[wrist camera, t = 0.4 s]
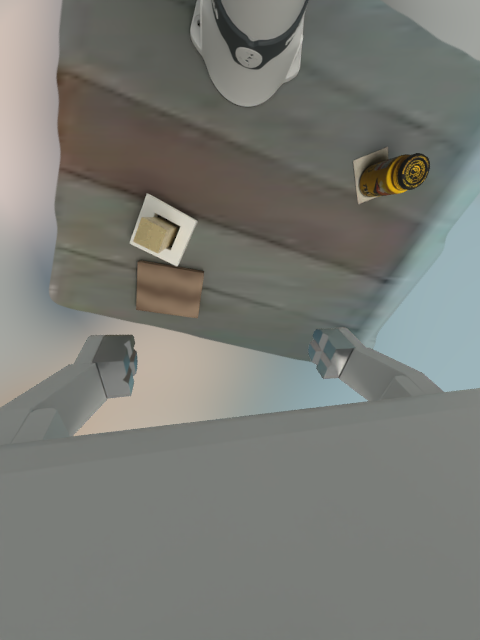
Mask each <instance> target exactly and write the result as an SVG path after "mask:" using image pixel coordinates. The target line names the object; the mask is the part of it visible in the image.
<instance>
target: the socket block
mask: <svg viewBox="0 0 480 640" xmlns="http://www.w3.org/2000/svg"><path fill="white" fill-rule="evenodd" d="M158 215H160V216H162V217H164V218H166V219H168V220H169V221H171V222H173V223H175V224H177V225H179V226H181V227H180V229H179V232H178V234H177V236H176V239H175V241H174V244H173V246H172V248H171V247H167V248H166V249H164V250H163V251H161V252H160V253H158V254H157V253H155V252H153V251H151V250H149V249H147V248H145V247H143V246H141V245H139V244H137V243H135V242H133V240H134V237H135V234H136V232H137V229H138V226H139V223H140V220H141V217H157V216H158ZM197 222H198V221H197V220H195V219H194V218H192V217H190V216H188V215H186V214H185V213H183V212H181V211H179V210H177V209H176V208H174V207H172V206H170V205H168V204H167V203H165V202H163V201H161V200H159V199H158V198H156V197H154V196H152V195H150V194H147V195H146V197H145V200H144V203H143V206H142V209H141V212H140V215H139V217H138V220H137V223H136V226H135V229H134V232H133V235H132V237H131V240H130V244H132V245H134V246H136V247H138V248H140V249H142V250H144V251H146V252H148V253H150V254H152V255H154V256H156V257H159V258H161V259H163V260H165V261H167V262H169V263H171V264H173V265H175V266H178V265H179V263H180V261H181V259H182V256H183V254H184V252H185V249H186V247H187V245H188V243H189V240H190V238H191V236H192V233H193V231H194V229H195V226H196V224H197Z"/></svg>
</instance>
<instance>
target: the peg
mask: <svg viewBox="0 0 480 640" xmlns="http://www.w3.org/2000/svg"><path fill="white" fill-rule="evenodd" d="M178 228H179V227H178V226H176V225H174V224H172V223H170V222H168V221H166V220H164V219H163V218H161V217H141V220H140V223H139V226H138V229H137V232H136V234H135V237H134V240H133V242H135V243H137V244H139V245H141V246H143V247H145V248H147V249H149V250H151V251H153V252H155V253H157V254H158V253H160V252H161V251H163V250H164V249H166V248H167V247H169V246H170V245H172V243H173V240H174V238H175V235H176V233H177V231H178Z"/></svg>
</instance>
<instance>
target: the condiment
mask: <svg viewBox="0 0 480 640" xmlns="http://www.w3.org/2000/svg"><path fill="white" fill-rule="evenodd" d="M353 164H354V171H355V180H356V190H357V198H358V204H360V203H363V202H365V201H368V200H370V199H373V198H375V197H378V196H385V195H391V194H398V193H403V192H405V191H407V190H412V189H415V188H417V187H418V186H420V185H421V184H422V183H423V182H424V180H425V179H426V178H427V176H428V173H429V169H430V162H429V159H428V157H426V156H425V155H423V154H420V153H416V154H413V155H407V154H406V155H401V156H398V157H395V158H392V159H389V160H388V147H386V148H384V149H381V150H379V151H376V152H374V153H371V154H369V155H366V156H364V157H361V158H359V159H356V160H354V161H353ZM364 167H365V168H364ZM363 169H364V170H363Z"/></svg>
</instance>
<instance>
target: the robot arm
mask: <svg viewBox="0 0 480 640" xmlns="http://www.w3.org/2000/svg"><path fill="white" fill-rule="evenodd" d="M307 3H308V0H197V2H196V6H195V11H194V15H193V19H192V23H191V28H190V37H191V41H192V43H193V44H194V46H195V47H196V49H197V50H198V52H199V53H200V54H201V55H202V57H203V59H204V61H205V64H206V67H207V70H208V73H209V75H210V78H211V80H212V82H213V83H214V85H215V87H216V88H217V89H218V91H219V92H220V93H221V94H222V95H223V96H224V97H225V98H226V99H228V100H229V101H231V102H232V103H234V104H237V105H240V106H246V107H250V106H256V105H259V104H261V103H263V102H265V101H266V100H268V99H269V98H270V97H271V96H272V95H273V94H274V93H275V92H276V91H277V89H278V88H279V87H280V86H281V85H282V84H283V83H285V82H288V81H290V80H291V79H293V78H295V77H296V76H297V74H298V72H299V69H300V62H301V49H302V40H303V23H304V14H305V10H306V7H307ZM198 23H200V27H199V26H198ZM312 336H313V339H314V340H312V341H311V342H310V344H309V347H308V355H309V358H310V359H311V361H312V362H313V363H315V364H316V365H317V368H316V369H317V370H318V372H319V373H320V375H321V376H322V378H323V379H330V378H339V379H340V380H341V381H343V382H344V383H345V384H347V385H348V386H349V387H351V388H352V389H353V390H355V391H356V392H357V393H359V394H360V395H361V396H363V397H364V398H365V399H367V400H368V401H367V402H359V403H351V404H342V405H334V406H325V407H317V408H308V409H300V410H291V411H283V412H275V413H266V414H258V415H249V416H241V417H232V418H225V419H216V420H207V421H199V422H191V423H182V424H173V425H165V426H157V427H149V428H140V429H131V430H123V431H115V432H106V433H99V434H89V435H81V436H73V435H74V434H75V433H76V432H77V431H78V430H79V429H80V428H81V427H82V425H84V424H85V422H86V421H87V420H88V419H89V418H90V417H91V416H92V415H93V414H94V413H95V412H96V411H97V410H98V409H99V408H100V407H101V406H102V404H103V403H104V402H105V401H106V400H107V398H116V397H124V396H131V394H132V389H133V385H134V379H133V376H134V375H135V374H136V371H137V352H136V351H135V350H134V345H135V341H134V336H133V335H91V336H89V337H88V339H87V340H86V342H85V344H84V346H83V348H82V350H81V351H80V353H79V355H78V357H77V359H76V361H75V363H74V364H71V365H68V366H66V367H64V368H63V369H61V370H60V371H58V372H56V373H55V374H53V375H52V376H50V377H49V378H47V379H46V380H44V381H42V382H41V383H39V384H37V385H36V386H34V387H33V388H31V389H29V390H28V391H26V392H25V393H23V394H21V395H20V396H18V397H17V398H15V399H14V400H12V401H11V402H9V403H7V404H6V405H4V406H2V407H1V408H0V640H480V388H477V389H470V390H469V389H468V390H460V391H451V392H443V391H442V390H441V389H440V388H439V387H438V386H437V385H436V384H434V383H433V382H432V381H431V380H430V379H429V378H428V377H427V376H425V375H424V374H423V373H422V372H419V371H417V370H415V369H413V368H411V367H409V366H407V365H405V364H402V363H400V362H398V361H396V360H394V359H392V358H390V357H388V356H386V355H384V354H381V353H379V352H377V351H375V350H373V349H371V348H366V347H365V346H364V345H363V344H362V343H361V342H360V341H359V340H358V339H357V338H356V337H355V336H354V335H353V334H352V333H351V332H350V331H349V330H348V329H347V328H345V327H341V328H328V329H316V330H315V331H314V332H313V335H312Z"/></svg>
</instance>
